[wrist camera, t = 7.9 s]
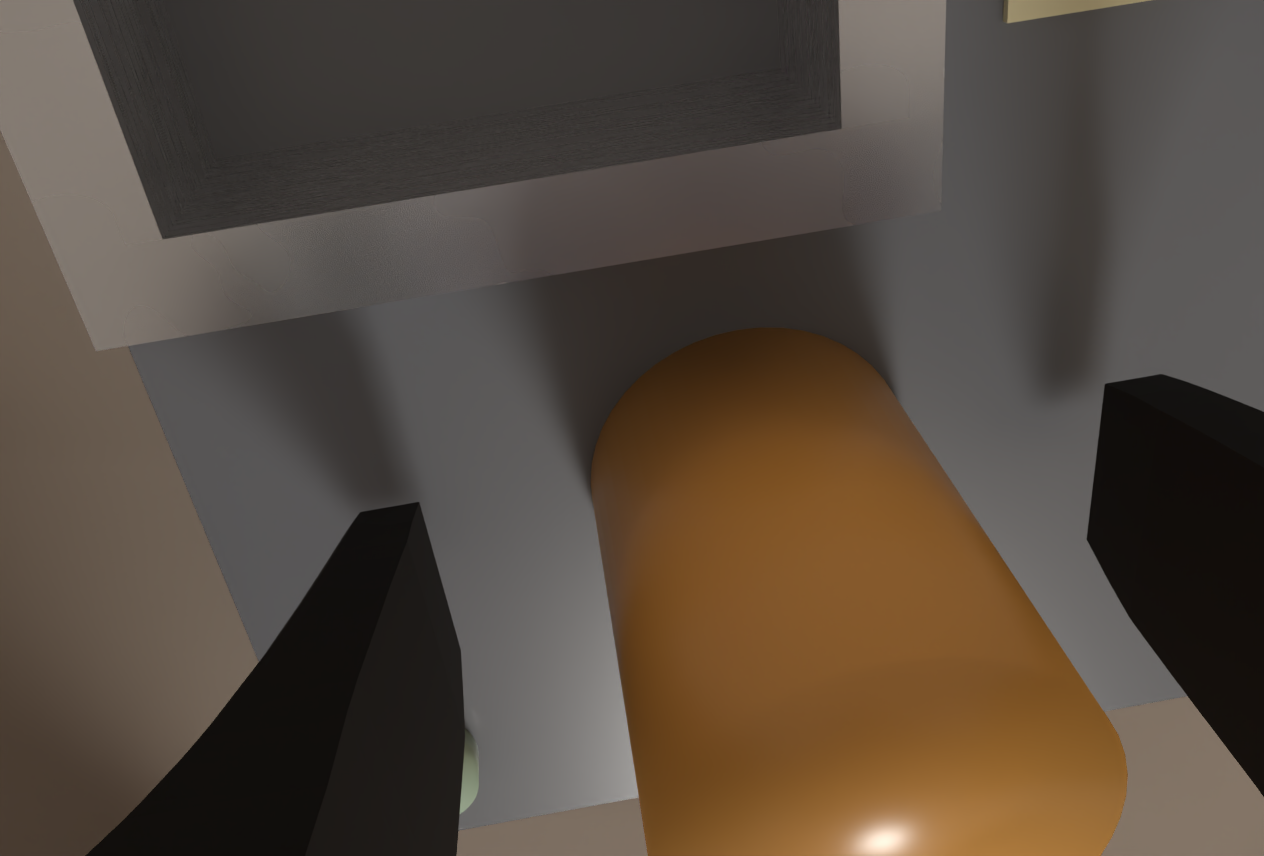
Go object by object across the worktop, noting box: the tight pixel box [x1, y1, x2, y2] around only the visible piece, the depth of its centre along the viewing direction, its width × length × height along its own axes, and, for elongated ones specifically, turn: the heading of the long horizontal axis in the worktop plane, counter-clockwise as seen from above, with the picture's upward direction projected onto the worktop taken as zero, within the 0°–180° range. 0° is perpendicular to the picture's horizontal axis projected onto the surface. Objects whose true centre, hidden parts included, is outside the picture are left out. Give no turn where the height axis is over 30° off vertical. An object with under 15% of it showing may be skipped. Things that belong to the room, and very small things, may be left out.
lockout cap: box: [591, 327, 1128, 856], centre depth 10 cm, size 4×4×5 cm
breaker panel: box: [128, 0, 1264, 831], centre depth 11 cm, size 16×18×2 cm
